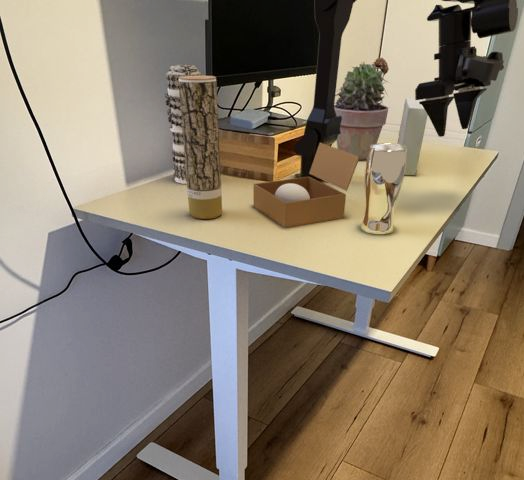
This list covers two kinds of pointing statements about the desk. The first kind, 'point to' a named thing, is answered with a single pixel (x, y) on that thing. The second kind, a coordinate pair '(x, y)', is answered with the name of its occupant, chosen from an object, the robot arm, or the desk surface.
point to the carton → (300, 202)
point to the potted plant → (361, 108)
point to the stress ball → (292, 193)
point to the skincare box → (412, 132)
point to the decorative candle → (177, 116)
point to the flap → (334, 166)
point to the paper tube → (201, 144)
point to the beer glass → (383, 185)
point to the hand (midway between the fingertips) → (453, 132)
